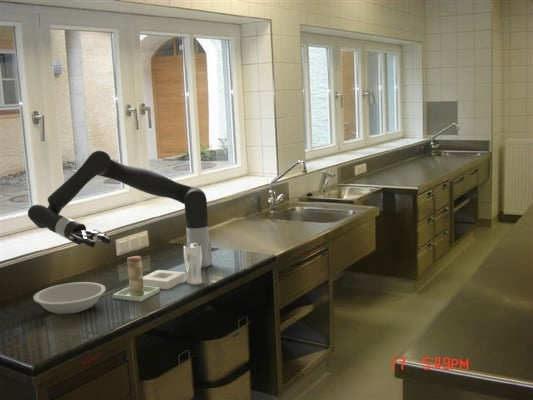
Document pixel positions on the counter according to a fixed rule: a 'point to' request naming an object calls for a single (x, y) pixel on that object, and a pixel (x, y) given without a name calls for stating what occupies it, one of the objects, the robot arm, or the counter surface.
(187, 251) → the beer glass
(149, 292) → the green tray
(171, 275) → the socket block
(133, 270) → the wooden plug
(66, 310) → the soup bowl
